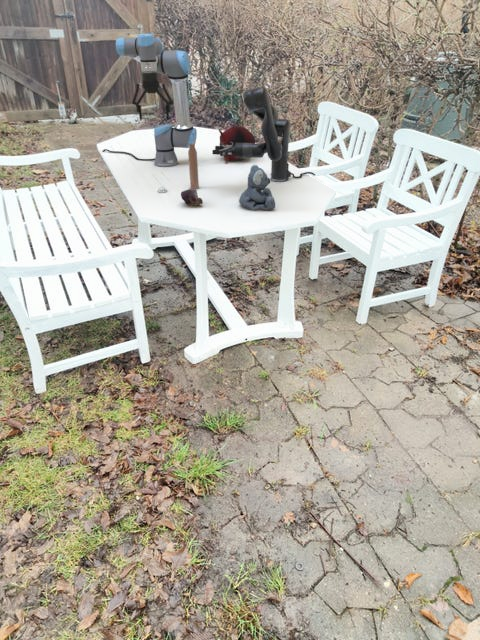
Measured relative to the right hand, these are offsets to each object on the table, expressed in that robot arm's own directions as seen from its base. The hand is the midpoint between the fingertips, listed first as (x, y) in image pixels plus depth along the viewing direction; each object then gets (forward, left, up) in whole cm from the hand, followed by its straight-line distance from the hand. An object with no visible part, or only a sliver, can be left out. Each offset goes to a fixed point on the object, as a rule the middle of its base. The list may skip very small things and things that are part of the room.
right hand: (213, 150), depth 239 cm
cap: (+29, -6, -20) cm, 36 cm away
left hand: (+29, -6, +16) cm, 33 cm away
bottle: (+10, -6, -21) cm, 25 cm away
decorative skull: (-29, -58, -21) cm, 68 cm away
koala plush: (-14, +31, -21) cm, 40 cm away
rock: (+17, +20, -21) cm, 34 cm away
